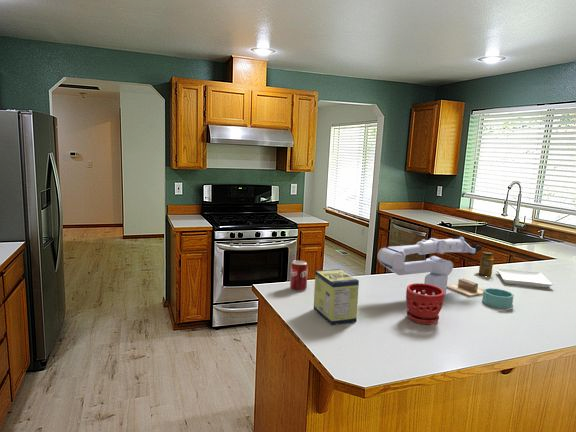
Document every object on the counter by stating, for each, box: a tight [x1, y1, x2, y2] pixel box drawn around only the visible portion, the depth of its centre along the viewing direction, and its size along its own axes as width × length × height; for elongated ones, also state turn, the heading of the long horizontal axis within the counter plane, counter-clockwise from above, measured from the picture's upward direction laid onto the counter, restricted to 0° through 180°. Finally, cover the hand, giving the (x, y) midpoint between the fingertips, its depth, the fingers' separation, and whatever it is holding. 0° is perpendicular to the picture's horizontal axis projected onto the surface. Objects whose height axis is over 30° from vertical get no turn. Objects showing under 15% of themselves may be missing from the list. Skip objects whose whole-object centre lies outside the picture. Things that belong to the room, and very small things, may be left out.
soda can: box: [289, 260, 309, 292], centre depth 180 cm, size 7×7×12 cm
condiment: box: [473, 251, 495, 279], centre depth 213 cm, size 7×8×12 cm
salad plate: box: [495, 268, 553, 288], centre depth 205 cm, size 21×21×3 cm
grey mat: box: [446, 289, 483, 299], centre depth 186 cm, size 15×15×1 cm
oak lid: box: [447, 278, 484, 298], centre depth 185 cm, size 13×13×4 cm
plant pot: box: [405, 282, 445, 325], centre depth 151 cm, size 13×13×12 cm
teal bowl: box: [481, 287, 515, 310], centre depth 171 cm, size 11×11×5 cm
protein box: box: [313, 268, 360, 326], centre depth 151 cm, size 10×16×16 cm
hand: (474, 245), depth 188 cm, fingers open, 7 cm apart
